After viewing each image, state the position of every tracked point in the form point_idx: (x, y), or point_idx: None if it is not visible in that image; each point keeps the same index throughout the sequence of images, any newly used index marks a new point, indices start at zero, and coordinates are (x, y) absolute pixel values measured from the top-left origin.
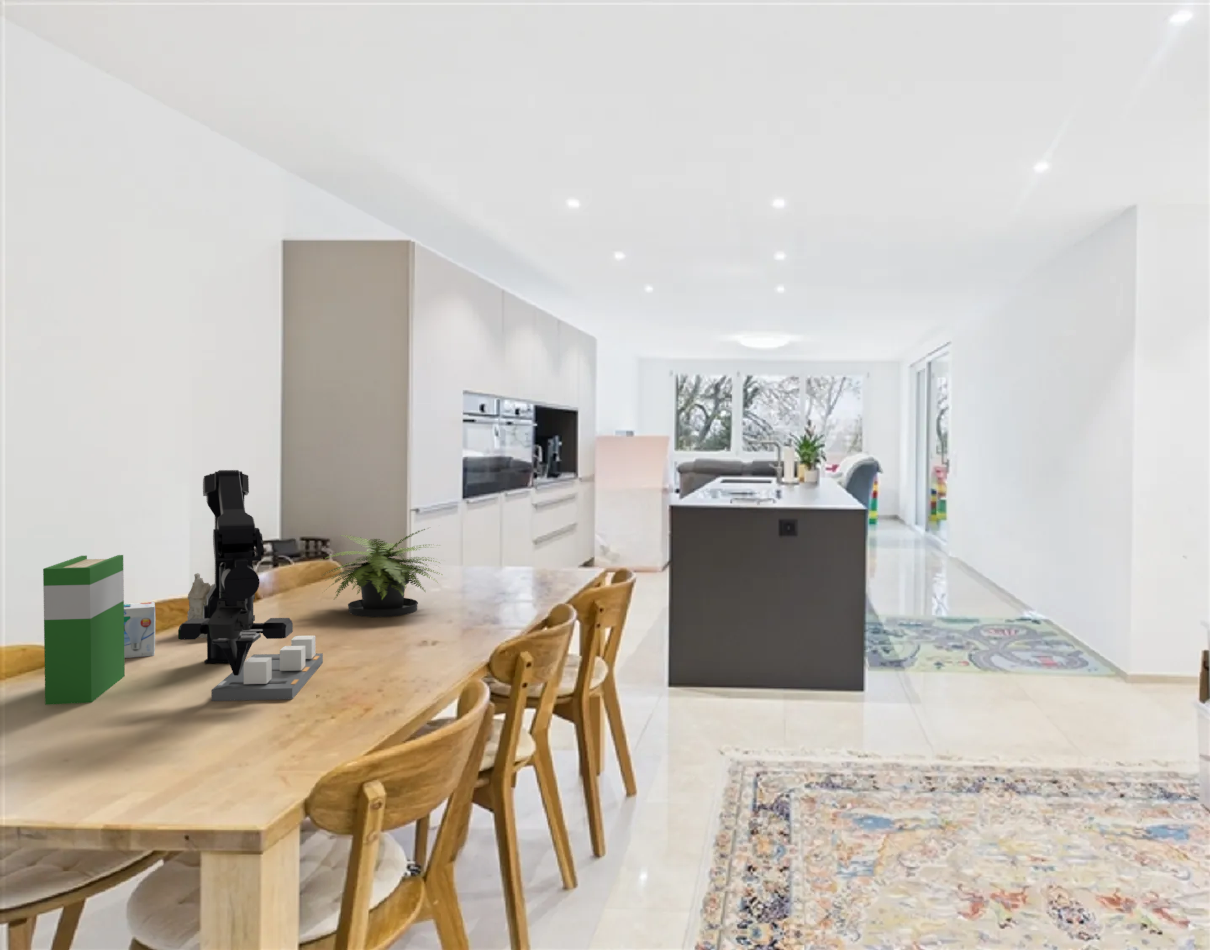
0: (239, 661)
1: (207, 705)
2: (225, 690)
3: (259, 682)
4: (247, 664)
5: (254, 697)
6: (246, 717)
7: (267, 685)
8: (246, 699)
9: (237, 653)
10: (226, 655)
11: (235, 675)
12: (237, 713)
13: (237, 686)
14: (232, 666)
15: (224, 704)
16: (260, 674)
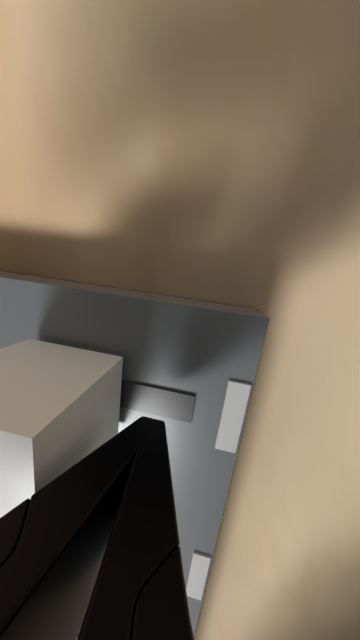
0: (76, 478)
1: (266, 244)
2: (198, 306)
3: (52, 345)
4: (19, 414)
5: (91, 285)
6: (70, 11)
7: (32, 333)
8: (124, 289)
9: (10, 599)
10: (181, 610)
11: (157, 420)
12: (120, 89)
13: (151, 348)
14: (154, 460)
15: (197, 246)
16: (12, 361)
